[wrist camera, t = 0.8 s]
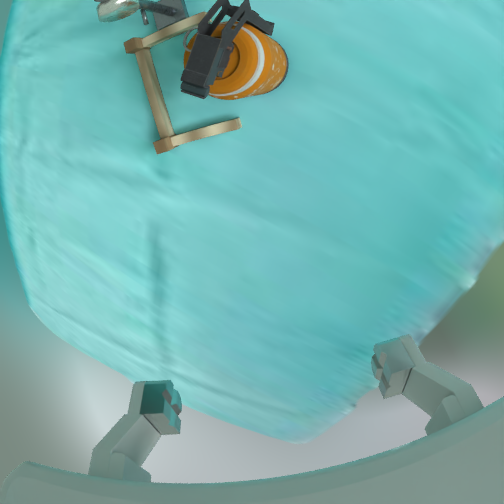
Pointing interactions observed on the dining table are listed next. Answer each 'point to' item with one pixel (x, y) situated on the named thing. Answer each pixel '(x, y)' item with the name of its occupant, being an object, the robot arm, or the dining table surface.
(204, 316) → the dining table surface
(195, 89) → the canister
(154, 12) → the mirror on stand
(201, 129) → the cradle
